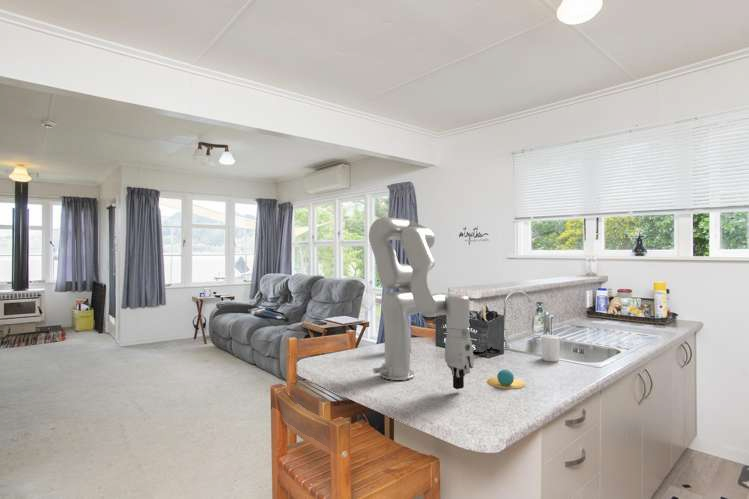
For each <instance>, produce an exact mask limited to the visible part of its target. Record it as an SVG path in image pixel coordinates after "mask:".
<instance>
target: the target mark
mask: <svg viewBox="0 0 749 499" xmlns="http://www.w3.org/2000/svg"><path fill="white" fill-rule="evenodd" d="M486 382H487V384H488V385H489V386H492V387H494V388H498V389H504V390H520V389H522V388H525V387H526V382H524V381H522V380H521V379H518V378H515V377H514V381H513V383H512V384H511V385H509V386H504V385H502V384H500V383H499V381H498V379H497V376H496V377H489V378H488V379H487V380H486Z"/></svg>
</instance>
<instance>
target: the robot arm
mask: <svg viewBox="0 0 749 499" xmlns="http://www.w3.org/2000/svg"><path fill="white" fill-rule="evenodd" d="M368 232H369V233H368V240H369V245H370V247H371V250H372V253H373V256H374V260H375V265H376V269H377V274H378V278H379V282H380V285H381V287H382V288H385V289H386V290H395V289H396V290H398V289H399V291H393V292H390V293H387V294H386V295H385V296H384V297H383V299H382V301H381V312H382V316H383V323H384V327H383V328H384V363H382V364H381V366H380V367H374V368H372V372H373V374H380V377H381V376H382V377H383V379H384V378H386V379H385V380H387V379H391V380H390V381H393V380H403V381H408V380H407V379H409V380H411V378H412V379H413V378H414V377H415V372H414V371H413V370H411V354H410V328H409V324H408V321H407V319H406V316H413V315H416V314H419V313H420V314H421V315H422V316H424V317H427V318H434V317H438V316H445V315H446V336H445V345H444V346H445V347H444V362H445V363H446V366H447V367H448V368H449V369H450V370H451V376H452V387H453V389H456V390H459V389H464V388H465V386H464V384H465V383H464V382H465V379H464V377H466V375H469V374H471V369H473V368H474V365H475V364H474V363H475V362H474V353H473V347H472V341H471V338H470V328H469V327H470V323H469V319H470V298H469V296H466V295H463V294H462V295H460V294H450V293H447V292H440V293H432V291H431V289H430V287H429V284H428V275H429V272H430V271H431V270H432V269H433V268H434V267H435V262H436V261H435V259H434V258H433V255H432V253H431V251H430V249H431V248H432V247H433V246H434V244H435V242H436V240H435V235H434V232H433V231H432V230H431V229H430V228H429V227H426V226H424V225H422V224H419V223H418V222H415V221H412V220H410V219H406V218H401V217H399V218H398V217H380V218H377V219H375V220H374V222H372V224H371V226H370V228H369V231H368ZM390 241H400V243H401V246H402V248H403V251H404V254H405V257H406V258H407V260H408V263H409V264H408V263H399V260H398V257H397V252H396V250H395V247H394V246H393V245H392V244H391V242H390ZM382 377H381V378H382Z"/></svg>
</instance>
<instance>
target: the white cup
mask: <svg viewBox="0 0 749 499" xmlns="http://www.w3.org/2000/svg"><path fill="white" fill-rule="evenodd" d="M539 338H540V352H541V359H542V360H543V361H546V362H559V360H560V351H561V350H560V346H561V336H559V335H556V334H548V333H547V334H540V336H539Z"/></svg>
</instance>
